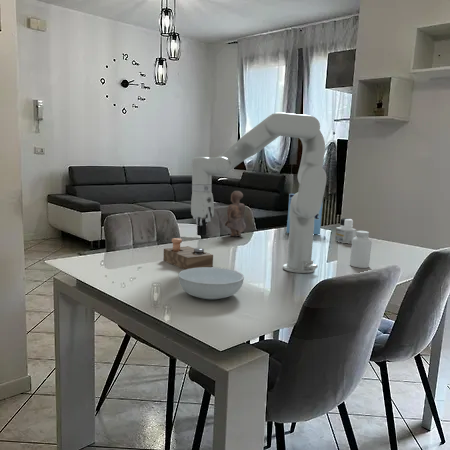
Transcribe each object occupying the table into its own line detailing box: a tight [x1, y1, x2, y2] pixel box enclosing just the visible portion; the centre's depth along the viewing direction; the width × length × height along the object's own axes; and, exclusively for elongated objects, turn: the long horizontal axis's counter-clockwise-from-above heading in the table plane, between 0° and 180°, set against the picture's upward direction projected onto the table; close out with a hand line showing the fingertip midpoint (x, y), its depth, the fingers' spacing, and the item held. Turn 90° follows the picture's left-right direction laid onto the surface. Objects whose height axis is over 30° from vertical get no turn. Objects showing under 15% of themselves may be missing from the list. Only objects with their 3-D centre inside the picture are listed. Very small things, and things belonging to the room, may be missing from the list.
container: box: [334, 217, 357, 244], centre depth 252 cm, size 8×8×13 cm
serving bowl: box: [177, 267, 245, 300], centre depth 147 cm, size 21×21×7 cm
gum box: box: [286, 193, 324, 235], centre depth 272 cm, size 20×5×23 cm, turn 85°
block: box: [162, 245, 214, 270], centre depth 187 cm, size 18×12×5 cm, turn 37°
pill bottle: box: [349, 230, 373, 269], centre depth 197 cm, size 8×8×15 cm
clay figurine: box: [224, 190, 247, 237], centre depth 252 cm, size 13×10×25 cm
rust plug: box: [171, 237, 183, 252], centre depth 187 cm, size 4×4×5 cm
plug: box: [193, 247, 205, 255], centre depth 185 cm, size 4×4×5 cm
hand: (201, 234), depth 184 cm, fingers closed
